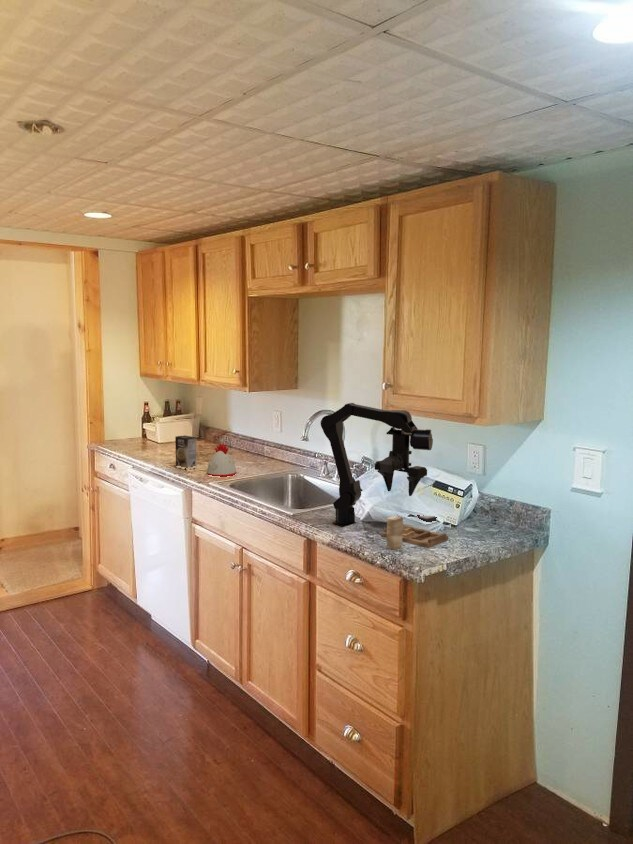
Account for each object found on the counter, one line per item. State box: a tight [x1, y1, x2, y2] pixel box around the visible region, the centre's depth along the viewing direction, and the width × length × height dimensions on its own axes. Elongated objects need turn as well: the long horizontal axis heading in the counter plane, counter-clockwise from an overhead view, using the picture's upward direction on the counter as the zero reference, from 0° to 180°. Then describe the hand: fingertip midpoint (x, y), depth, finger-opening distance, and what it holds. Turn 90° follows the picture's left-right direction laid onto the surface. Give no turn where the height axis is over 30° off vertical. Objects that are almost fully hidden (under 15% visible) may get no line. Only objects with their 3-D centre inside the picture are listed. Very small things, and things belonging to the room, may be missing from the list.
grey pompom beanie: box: [206, 443, 237, 477], centre depth 311 cm, size 14×14×15 cm
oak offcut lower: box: [402, 531, 415, 538], centre depth 213 cm, size 6×6×1 cm
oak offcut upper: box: [402, 525, 412, 534], centre depth 213 cm, size 5×4×1 cm
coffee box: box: [174, 434, 197, 468], centre depth 326 cm, size 9×6×16 cm
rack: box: [380, 525, 449, 549], centre depth 210 cm, size 18×12×3 cm, turn 48°
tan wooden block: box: [386, 515, 404, 551], centre depth 200 cm, size 3×4×10 cm
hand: (399, 493), depth 221 cm, fingers open, 9 cm apart
